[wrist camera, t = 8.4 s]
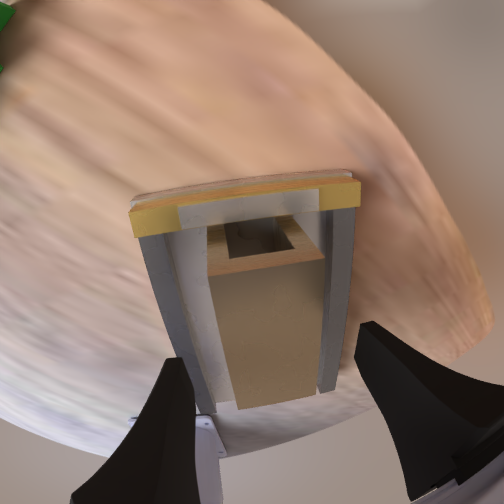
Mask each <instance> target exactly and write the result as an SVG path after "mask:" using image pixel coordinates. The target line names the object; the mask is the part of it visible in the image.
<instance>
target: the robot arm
mask: <svg viewBox="0 0 504 504" xmlns="http://www.w3.org/2000/svg"><path fill="white" fill-rule="evenodd" d="M354 359H355V361H356V364H357V367H358V369H359V372H360V374H361V377H362V379H363V380H364V382H365V384H366V386H367V388H368V389H369V391H370V393H371V395H372V397H373V398H374V400H375V402H376V404H377V405H378V407H379V409H380V411H381V413H382V414H383V416H384V418H385V420H386V423H387V425H388V428H389V430H390V433H391V435H392V438H393V441H394V443H395V447H396V450H397V452H398V456H399V459H400V463H401V466H402V470H403V474H404V478H405V483H406V488H407V493H408V497H409V499H410V501H414V500H416V499H418V498H420V497H421V496H423V495H425V494H427V493H429V492H430V491H432V490H434V489H436V488H437V489H436V490H435V491H433V492H432V493H430V494H428V495H426V496H424V497H423V498H421V499H419V500H417V501H415V502H413V503H411V504H504V386H502V385H496V384H491V383H488V382H484V381H480V380H477V379H474V378H471V377H468V376H465V375H463V374H460V373H458V372H455V371H453V370H451V369H449V368H447V367H445V366H443V365H441V364H439V363H437V362H435V361H433V360H431V359H430V358H428V357H426V356H425V355H423V354H421V353H420V352H418V351H417V350H415V349H413V348H412V347H410V346H409V345H407V344H406V343H404V342H403V341H402V340H400V339H399V338H397V337H396V336H394V335H393V334H392V333H390V332H389V331H387V330H386V329H385V328H383V327H382V326H380V325H379V324H377V323H376V322H374V321H369V322H366V323H362V324H360V328H359V334H358V339H357V345H356V350H355V355H354ZM128 424H129V425H130V427H131V429H130V431H129V432H128V434H127V435H126V437H125V438H124V440H123V441H122V443H121V444H120V445H119V446H118V448H117V449H116V450H115V452H114V453H113V454H112V455H111V457H110V458H109V459H108V460H107V461H106V462H105V463H104V464H103V465H102V467H101V468H100V469H99V470H98V471H97V472H96V473H95V474H94V475H93V476H92V477H91V478H90V479H89V480H88V481H86V482H85V483H84V484H83V485H82V486H80V487H79V488H78V489H77V490H76V491H74V492H73V493H72V495H71V499H70V504H223V494H222V493H223V492H222V484H221V476H220V466H219V457H226V456H227V452H226V449H225V447H224V445H223V443H222V441H221V438H220V436H219V434H218V432H217V429H216V427H215V425H214V422H213V420H212V418H211V417H210V416H207V415H204V416H196V404H195V393H194V387H193V384H192V382H191V379H190V377H189V374H188V372H187V369H186V366H185V364H184V361H183V359H182V357H176V358H167V359H166V360H165V362H164V364H163V367H162V369H161V372H160V374H159V376H158V379H157V381H156V383H155V385H154V387H153V389H152V391H151V393H150V395H149V397H148V400H147V402H146V403H145V405H144V407H143V409H142V411H141V413H140V414H139V416H138V418H137V419H129V420H128Z"/></svg>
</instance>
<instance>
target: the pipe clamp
mask: <svg viewBox="0 0 504 504" xmlns="http://www.w3.org/2000/svg"><path fill="white" fill-rule="evenodd" d="M15 12H16V10H14V9H13V8H12V7H11V6H9V5H7V4H4V3H2V2H0V32H1V30H2V29H3V27H4V26H5V25H6V23H7V22H8V21H9V19H10V18H11V17H12V15H13V14H14V13H15ZM2 69H3V67H2V65H1V64H0V73H1V71H2Z"/></svg>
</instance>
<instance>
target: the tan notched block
mask: <svg viewBox="0 0 504 504" xmlns="http://www.w3.org/2000/svg"><path fill="white" fill-rule="evenodd" d="M273 231H274V245H275V252H271V253H265V254H258V255H252V256H245V257H239V258H232V259H229V254H228V248H227V241H226V235H225V229H224V224H219V225H212V226H207V277H208V282H209V287H210V292H211V297H212V302H213V306H214V311H215V315H216V320H217V325H218V329H219V333H220V338H221V342H222V346H223V351H224V355H225V359H226V363H227V367H228V371H229V376H230V380H231V384H232V387H233V391H234V395H235V399H236V403H237V407H238V410H240V409H247V408H253V407H259V406H265V405H270V404H276V403H281V402H285V401H290V400H295V399H299V398H304V397H308V396H312V395H316V386H317V377H318V367H319V357H320V345H321V333H322V318H323V302H324V281H325V257H324V256H323V254H322V253H321V252H320V251H319V249H318V248H317V247H316V246H315V244H314V243H313V242H312V241H311V239H310V238H309V237H308V236H307V234H306V233H305V232H304V231H303V229H302V228H301V227H300V226H299V224H298V223H297V222H296V221H295V220H294V218H293V217H292V216H291V215H284V216H276V217H273Z"/></svg>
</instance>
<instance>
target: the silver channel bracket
mask: <svg viewBox="0 0 504 504" xmlns="http://www.w3.org/2000/svg"><path fill="white" fill-rule="evenodd" d="M360 199H361V182H360V181H358V180H356V179H354V178H352V173H351V172H349V171H346V170H344V169H340V170H325V171H312V172H301V173H290V174H280V175H270V176H261V177H253V178H245V179H237V180H229V181H222V182H215V183H209V184H202V185H196V186H189V187H183V188H177V189H172V190H166V191H160V192H155V193H150V194H145V195H139V196H135V197H134V198H133V199H132V200H131V201H130V204H131V210H130V211H129V212H128V213H129V217H130V221H131V225H132V229H133V233H134V237H135V238H138V239H139V243H140V246H141V250H142V254H143V257H144V261H145V264H146V268H147V271H148V275H149V278H150V281H151V284H152V288H153V291H154V294H155V297H156V300H157V303H158V306H159V309H160V312H161V315H162V318H163V321H164V324H165V327H166V329H167V332H168V335H169V338H170V340H171V343H172V346H173V349H174V351H175V354H176V356H177V357H182V359H183V361H184V364H185V366H186V369H187V372H188V374H189V377H190V379H191V382H192V384H193V387H194V393H195V402H196V404H197V407H198V409H199V411H200V413H201V414H211V413H217V411H216V403H217V402H225V401H233V400H236V399H235V395H234V391H233V387H232V384H231V380H230V376H229V371H228V367H227V363H226V359H225V355H224V351H223V346H222V342H221V338H220V333H219V329H218V325H217V320H216V315H215V311H214V306H213V302H212V297H211V292H210V287H209V282H208V277H207V226H212V225H219V224H224V229H225V235H226V241H227V248H228V254H229V259H232V258H239V257H245V256H252V255H258V254H265V253H271V252H275V245H274V231H273V217H276V216H284V215H291V216H292V217H293V218H294V220H295V221H296V222H297V223H298V224H299V226H300V227H301V228H302V229H303V231H304V232H305V233H306V234H307V236H308V237H309V238H310V239H311V241H312V242H313V243H314V244H315V246H316V247H317V248H318V249H319V251H320V252H321V253H322V254H323V256H324V257H325V281H324V302H323V318H322V333H321V345H320V357H319V367H318V377H317V387H318V389H319V392H320V394H321V393H325V392H329V391H332V390H335V386H336V381H337V375H338V370H339V364H340V358H341V352H342V346H343V339H344V332H345V325H346V318H347V310H348V301H349V292H350V283H351V272H352V260H353V246H354V229H355V207H359V206H360Z"/></svg>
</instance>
